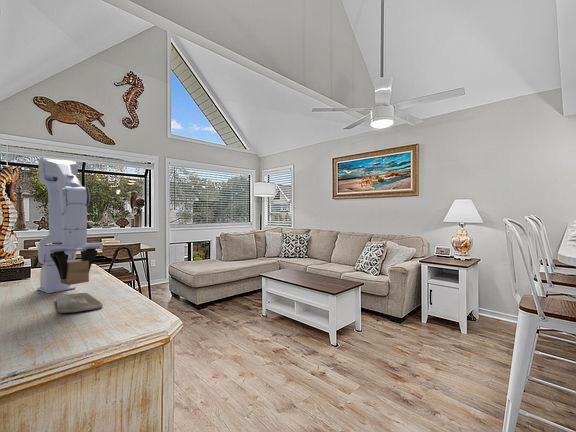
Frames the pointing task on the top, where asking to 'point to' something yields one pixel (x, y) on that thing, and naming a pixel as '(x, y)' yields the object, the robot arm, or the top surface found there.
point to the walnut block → (76, 272)
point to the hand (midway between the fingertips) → (74, 276)
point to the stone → (77, 302)
